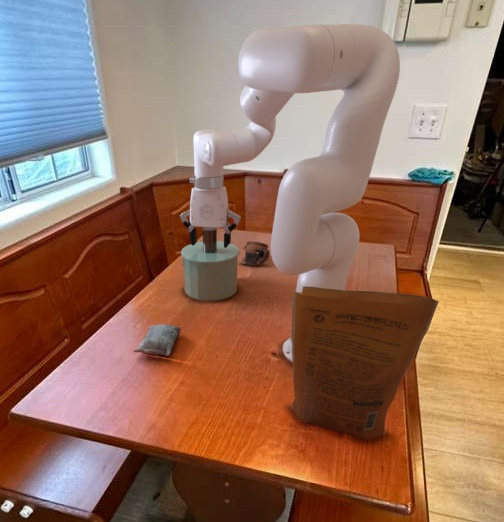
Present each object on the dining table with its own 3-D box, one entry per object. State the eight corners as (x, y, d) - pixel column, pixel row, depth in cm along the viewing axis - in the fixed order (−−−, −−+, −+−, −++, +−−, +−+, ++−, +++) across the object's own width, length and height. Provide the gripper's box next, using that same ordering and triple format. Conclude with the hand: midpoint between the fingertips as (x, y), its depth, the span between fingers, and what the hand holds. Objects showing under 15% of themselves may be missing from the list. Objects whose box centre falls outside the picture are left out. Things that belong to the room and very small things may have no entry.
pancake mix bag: (390, 455, 66) (441, 307, 51) (277, 421, 74) (292, 284, 59) (393, 428, 71) (440, 286, 56) (287, 399, 79) (303, 267, 64)
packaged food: (134, 359, 94) (132, 342, 91) (149, 333, 103) (148, 316, 100) (170, 363, 92) (169, 345, 89) (182, 336, 101) (181, 319, 99)
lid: (231, 268, 107) (231, 240, 103) (173, 263, 112) (171, 236, 108) (244, 246, 120) (245, 221, 116) (191, 242, 125) (190, 218, 121)
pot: (230, 304, 114) (230, 265, 107) (177, 298, 119) (174, 260, 112) (242, 281, 126) (243, 245, 120) (193, 277, 131) (192, 241, 125)
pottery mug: (234, 263, 140) (239, 240, 139) (254, 269, 145) (259, 246, 144) (256, 265, 130) (262, 239, 129) (277, 271, 135) (283, 247, 134)
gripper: (173, 185, 105) (177, 247, 114) (238, 186, 100) (236, 251, 109) (182, 179, 111) (185, 239, 120) (244, 179, 106) (242, 242, 115)
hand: (210, 245), depth 115 cm, fingers open, 9 cm apart
